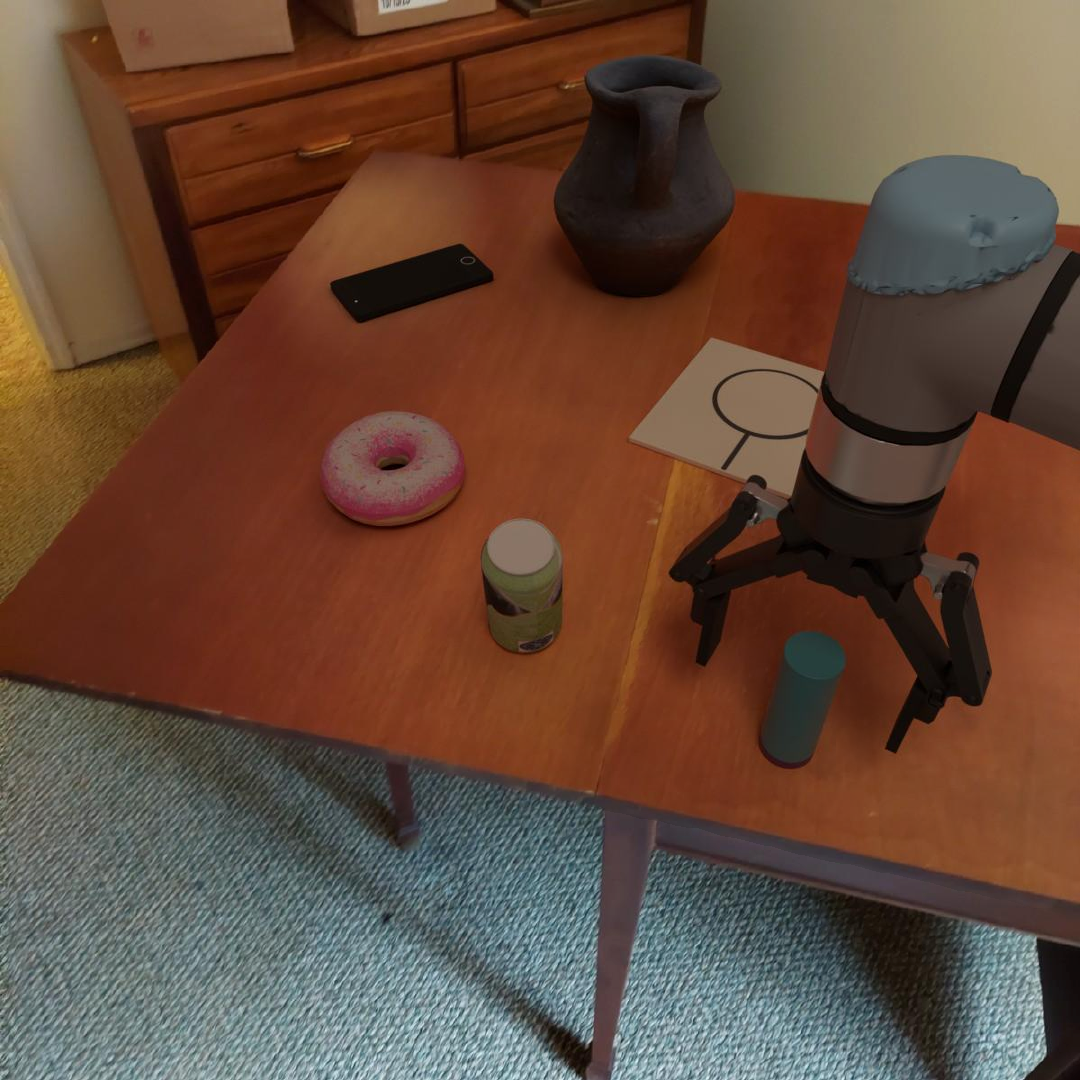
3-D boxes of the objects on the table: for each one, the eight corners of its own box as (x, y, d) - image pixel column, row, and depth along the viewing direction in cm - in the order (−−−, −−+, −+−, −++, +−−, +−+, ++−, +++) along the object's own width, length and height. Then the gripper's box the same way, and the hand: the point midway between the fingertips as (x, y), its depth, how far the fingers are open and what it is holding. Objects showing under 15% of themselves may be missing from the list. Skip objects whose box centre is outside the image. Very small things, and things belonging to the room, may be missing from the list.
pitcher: (708, 231, 124) (734, 23, 106) (739, 325, 109) (775, 101, 91) (550, 236, 123) (549, 28, 106) (558, 331, 108) (559, 107, 90)
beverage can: (555, 596, 81) (554, 493, 72) (571, 665, 76) (573, 563, 67) (481, 606, 80) (472, 503, 71) (493, 677, 75) (484, 575, 66)
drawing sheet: (888, 396, 99) (889, 390, 99) (822, 512, 87) (824, 506, 87) (710, 341, 107) (711, 335, 106) (628, 441, 95) (628, 435, 94)
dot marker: (821, 736, 71) (854, 645, 63) (802, 778, 68) (834, 688, 61) (770, 713, 72) (796, 621, 64) (750, 753, 70) (774, 662, 62)
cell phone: (495, 280, 116) (495, 273, 115) (357, 323, 110) (356, 316, 109) (462, 248, 121) (461, 242, 121) (329, 288, 115) (328, 281, 114)
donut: (387, 560, 84) (380, 520, 80) (295, 491, 90) (284, 450, 87) (495, 483, 91) (492, 443, 87) (402, 424, 97) (396, 384, 94)
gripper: (1140, 503, 48) (997, 731, 64) (690, 355, 57) (659, 587, 73) (1117, 601, 44) (969, 821, 59) (633, 423, 53) (613, 655, 68)
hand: (798, 692), depth 66 cm, fingers open, 13 cm apart
